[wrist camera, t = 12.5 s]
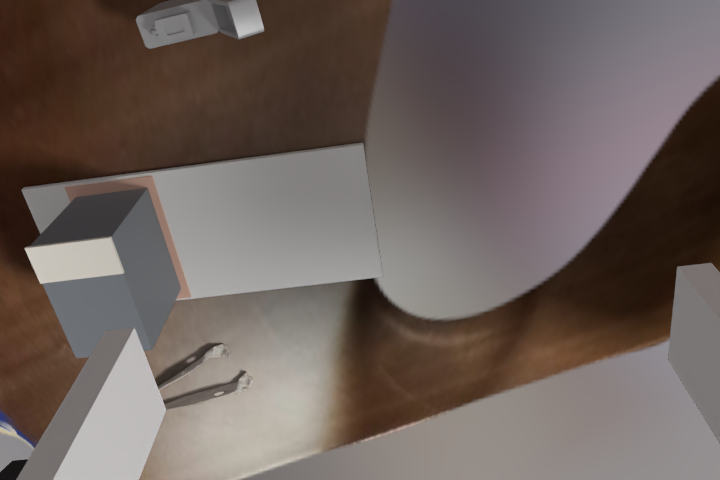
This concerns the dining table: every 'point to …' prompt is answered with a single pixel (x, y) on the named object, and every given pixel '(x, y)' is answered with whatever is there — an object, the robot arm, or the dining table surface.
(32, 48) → the dining table surface
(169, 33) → the lighter
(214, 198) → the flat white strip
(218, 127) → the dining table surface
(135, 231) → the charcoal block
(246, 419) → the dining table surface
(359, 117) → the dining table surface
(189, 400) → the tweezers
